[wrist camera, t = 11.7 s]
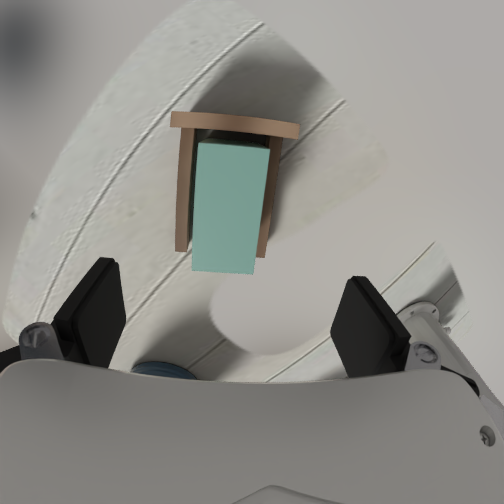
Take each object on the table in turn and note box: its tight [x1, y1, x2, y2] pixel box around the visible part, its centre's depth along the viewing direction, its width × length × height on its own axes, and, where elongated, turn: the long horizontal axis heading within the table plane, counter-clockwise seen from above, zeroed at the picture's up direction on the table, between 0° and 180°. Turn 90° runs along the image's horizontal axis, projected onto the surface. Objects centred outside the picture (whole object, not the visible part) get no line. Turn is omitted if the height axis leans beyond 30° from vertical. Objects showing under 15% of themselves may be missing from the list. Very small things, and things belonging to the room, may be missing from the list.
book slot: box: [170, 111, 300, 258], centre depth 24 cm, size 9×14×8 cm
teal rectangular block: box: [192, 138, 270, 274], centre depth 24 cm, size 5×10×9 cm, turn 173°
